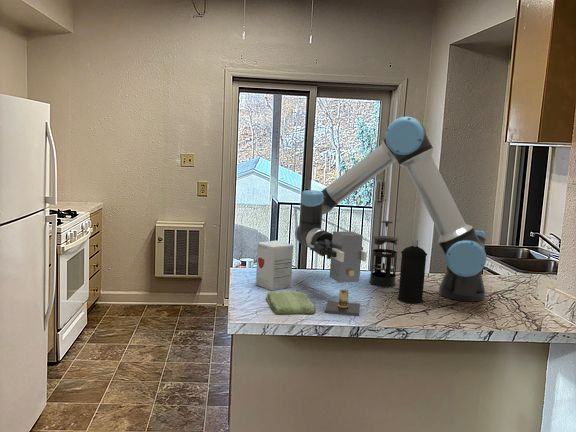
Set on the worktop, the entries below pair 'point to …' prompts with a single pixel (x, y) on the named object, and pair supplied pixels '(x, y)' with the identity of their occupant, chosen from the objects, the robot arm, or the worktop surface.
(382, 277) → the french press
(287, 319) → the worktop surface
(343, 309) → the post base
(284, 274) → the supplement box
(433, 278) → the worktop surface
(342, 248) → the grey block
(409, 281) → the aerosol can
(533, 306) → the worktop surface
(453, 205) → the robot arm
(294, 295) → the washcloth
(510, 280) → the worktop surface
